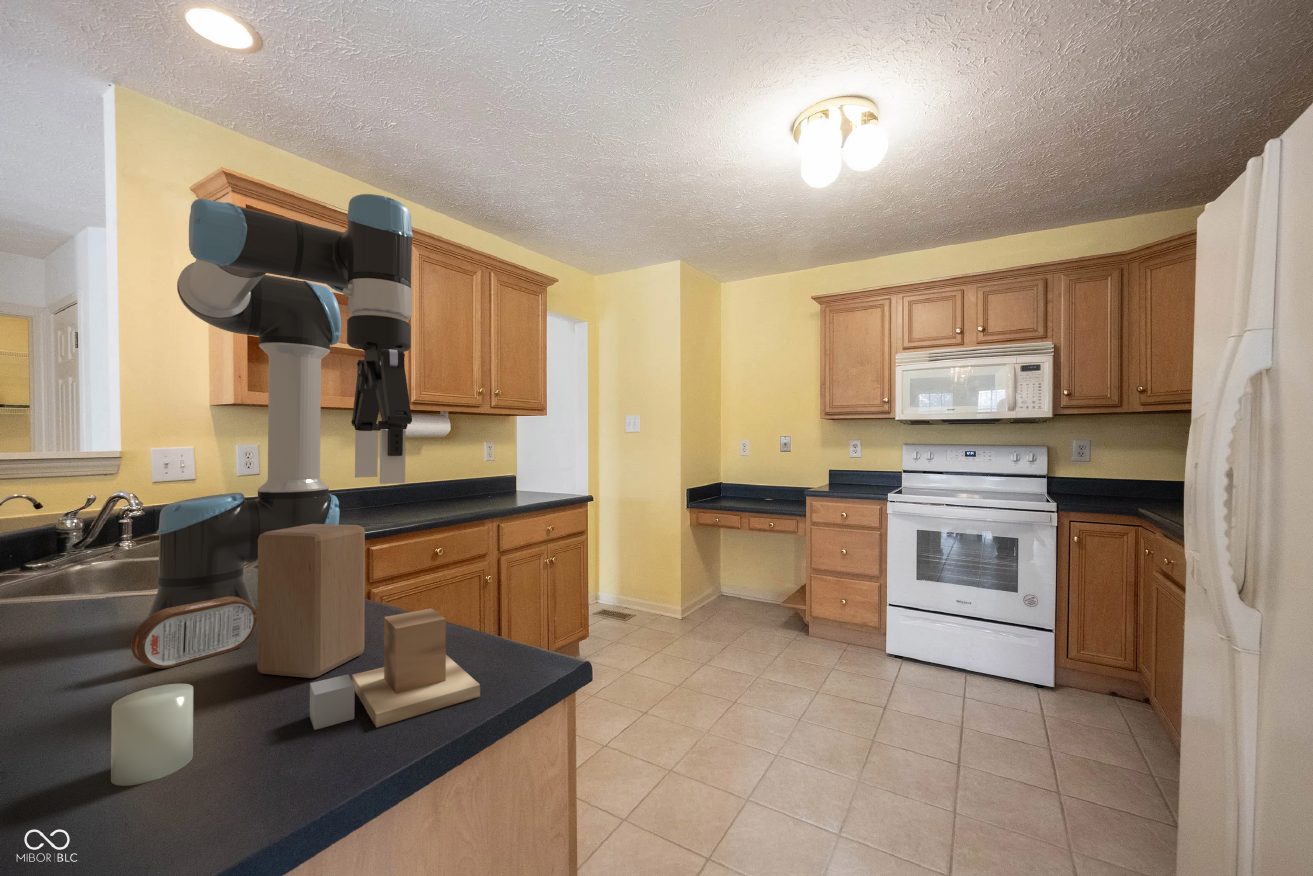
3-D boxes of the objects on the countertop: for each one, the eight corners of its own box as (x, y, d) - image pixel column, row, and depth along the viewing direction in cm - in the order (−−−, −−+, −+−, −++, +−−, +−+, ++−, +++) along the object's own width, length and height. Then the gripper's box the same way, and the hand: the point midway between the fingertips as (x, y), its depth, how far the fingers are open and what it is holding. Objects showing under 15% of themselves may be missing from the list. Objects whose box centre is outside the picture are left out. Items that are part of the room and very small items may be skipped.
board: (352, 686, 73) (352, 674, 73) (444, 663, 80) (444, 652, 80) (376, 727, 62) (376, 714, 62) (480, 696, 69) (480, 684, 69)
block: (314, 681, 74) (315, 534, 74) (253, 675, 76) (254, 532, 76) (367, 654, 84) (367, 524, 84) (312, 649, 86) (312, 522, 86)
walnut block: (384, 678, 71) (384, 617, 72) (431, 666, 75) (431, 608, 75) (395, 694, 67) (395, 628, 67) (445, 680, 70) (445, 618, 71)
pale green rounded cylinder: (115, 765, 55) (116, 695, 55) (193, 744, 59) (194, 678, 59) (106, 794, 50) (107, 717, 50) (191, 769, 54) (192, 698, 54)
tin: (251, 641, 90) (251, 590, 90) (260, 644, 88) (261, 592, 89) (129, 674, 77) (130, 614, 77) (138, 679, 75) (139, 618, 75)
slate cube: (309, 717, 64) (310, 683, 64) (348, 706, 67) (348, 674, 67) (314, 730, 61) (314, 695, 61) (354, 719, 64) (354, 685, 64)
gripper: (329, 329, 79) (328, 475, 79) (371, 295, 60) (369, 488, 60) (385, 336, 84) (384, 474, 84) (441, 306, 65) (439, 484, 64)
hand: (378, 480), depth 72 cm, fingers open, 13 cm apart
